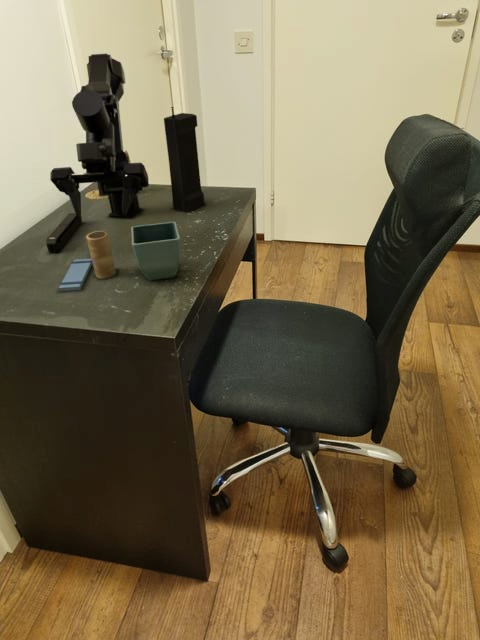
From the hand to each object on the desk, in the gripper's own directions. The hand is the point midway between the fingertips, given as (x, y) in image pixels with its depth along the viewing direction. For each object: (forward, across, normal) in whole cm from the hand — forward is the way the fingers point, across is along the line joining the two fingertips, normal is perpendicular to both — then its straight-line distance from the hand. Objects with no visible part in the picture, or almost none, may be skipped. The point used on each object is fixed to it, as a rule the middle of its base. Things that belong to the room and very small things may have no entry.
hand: (101, 216), depth 95 cm
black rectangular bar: (-3, -13, +17) cm, 22 cm away
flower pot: (+13, +12, +2) cm, 17 cm away
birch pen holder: (+11, 0, +2) cm, 12 cm away
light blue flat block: (+11, -6, +2) cm, 13 cm away
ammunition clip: (-24, -6, +38) cm, 46 cm away
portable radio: (-14, +16, +28) cm, 35 cm away
